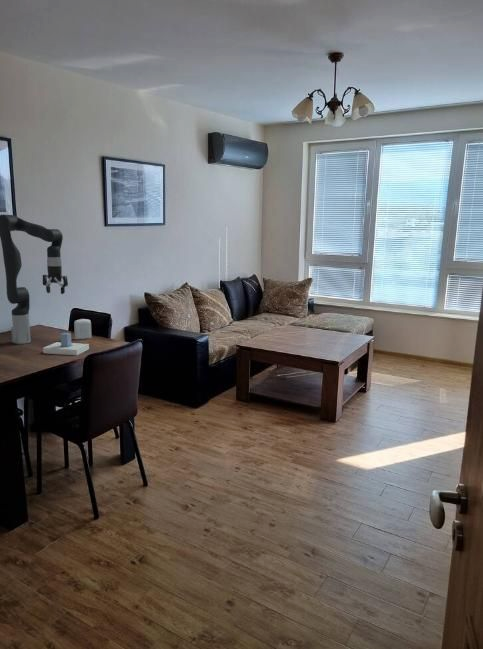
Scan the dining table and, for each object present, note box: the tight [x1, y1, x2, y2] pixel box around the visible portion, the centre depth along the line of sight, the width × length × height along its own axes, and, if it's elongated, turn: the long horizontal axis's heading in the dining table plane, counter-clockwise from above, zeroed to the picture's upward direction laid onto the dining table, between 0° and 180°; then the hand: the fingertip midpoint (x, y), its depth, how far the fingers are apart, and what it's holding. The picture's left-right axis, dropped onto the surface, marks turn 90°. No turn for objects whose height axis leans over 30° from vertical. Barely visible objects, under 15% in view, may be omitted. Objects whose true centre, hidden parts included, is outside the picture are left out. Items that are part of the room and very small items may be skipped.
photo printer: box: [73, 318, 92, 340], centre depth 300 cm, size 10×4×12 cm, turn 123°
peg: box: [60, 332, 72, 347], centre depth 269 cm, size 4×4×9 cm
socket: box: [42, 341, 90, 356], centre depth 270 cm, size 20×14×3 cm
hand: (55, 293), depth 274 cm, fingers open, 8 cm apart
